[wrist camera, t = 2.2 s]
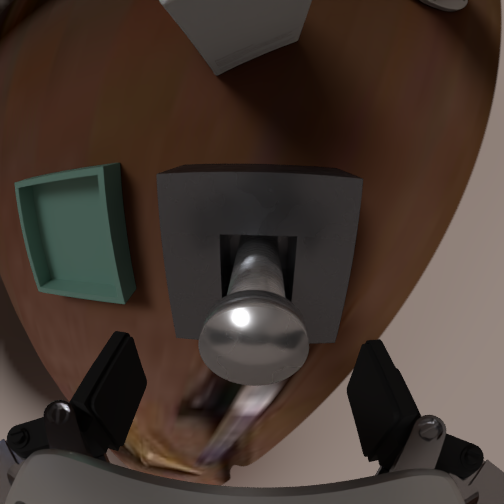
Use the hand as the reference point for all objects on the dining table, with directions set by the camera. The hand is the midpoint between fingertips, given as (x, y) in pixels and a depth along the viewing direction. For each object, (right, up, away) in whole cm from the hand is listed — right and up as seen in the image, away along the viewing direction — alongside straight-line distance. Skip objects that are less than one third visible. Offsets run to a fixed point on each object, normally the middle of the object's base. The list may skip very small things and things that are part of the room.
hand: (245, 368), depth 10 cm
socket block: (+1, +6, +12) cm, 14 cm away
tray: (-17, +7, +13) cm, 22 cm away
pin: (+1, +5, +11) cm, 13 cm away
